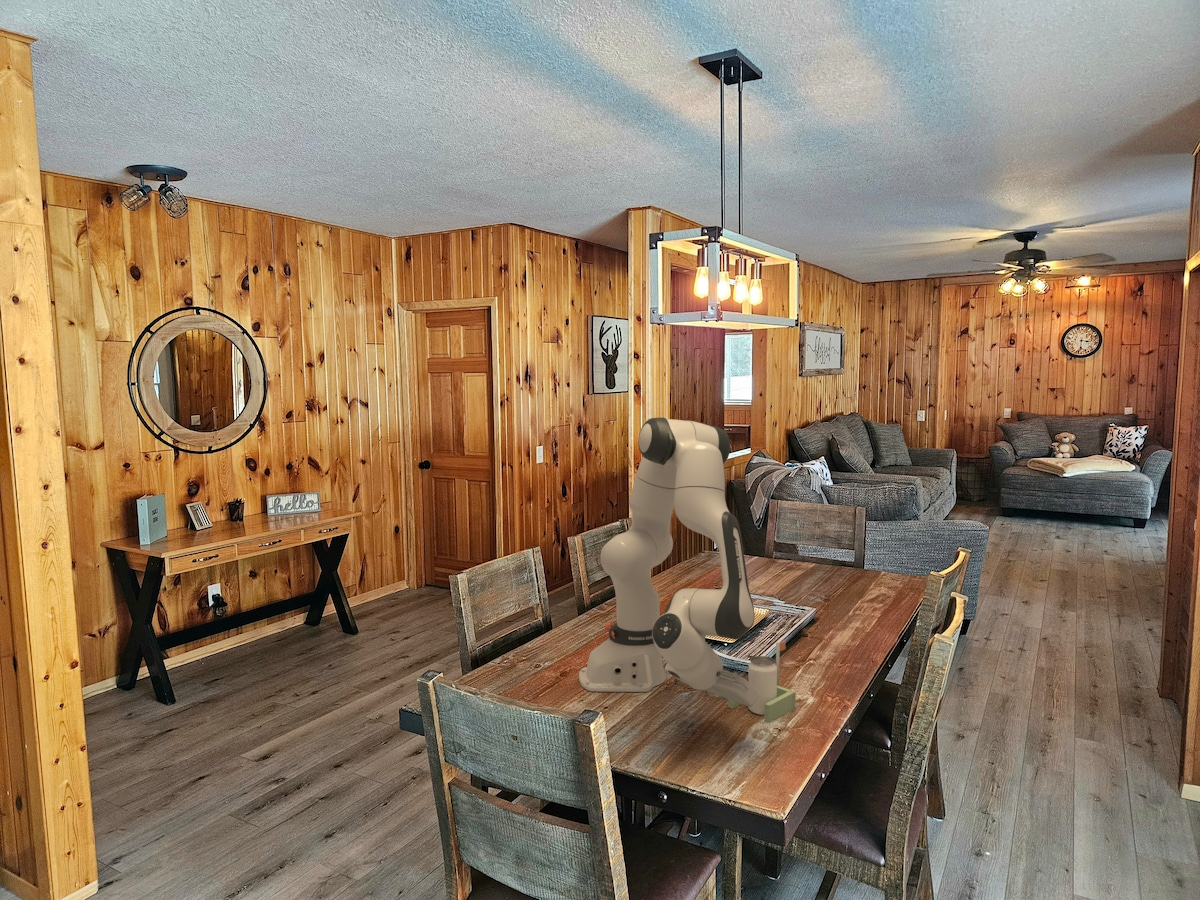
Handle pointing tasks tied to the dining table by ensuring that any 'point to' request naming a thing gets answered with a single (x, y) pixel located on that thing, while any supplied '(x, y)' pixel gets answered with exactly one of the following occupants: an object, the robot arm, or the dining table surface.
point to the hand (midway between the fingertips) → (728, 697)
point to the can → (762, 681)
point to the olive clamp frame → (784, 696)
